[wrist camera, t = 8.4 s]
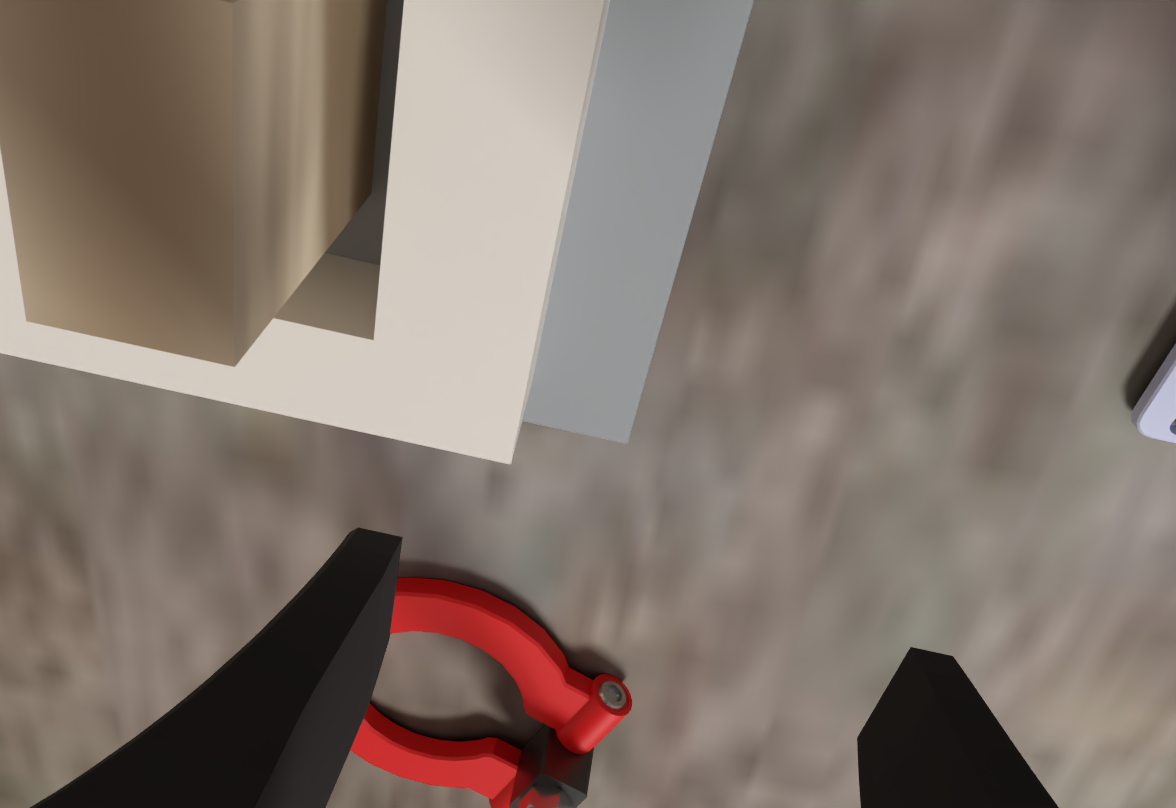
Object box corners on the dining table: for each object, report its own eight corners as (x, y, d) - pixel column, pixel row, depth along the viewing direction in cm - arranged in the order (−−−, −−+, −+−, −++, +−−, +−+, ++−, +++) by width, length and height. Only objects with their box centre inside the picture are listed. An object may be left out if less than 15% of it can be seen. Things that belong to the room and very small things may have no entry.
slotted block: (822, -266, 15) (860, -282, 12) (629, 420, 23) (619, 526, 20) (-162, -514, 15) (-412, -604, 11) (-23, 276, 22) (-147, 360, 19)
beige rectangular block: (394, -90, 16) (231, -25, 11) (371, 193, 19) (234, 367, 13) (224, -131, 16) (-35, -88, 10) (227, 160, 19) (25, 321, 13)
